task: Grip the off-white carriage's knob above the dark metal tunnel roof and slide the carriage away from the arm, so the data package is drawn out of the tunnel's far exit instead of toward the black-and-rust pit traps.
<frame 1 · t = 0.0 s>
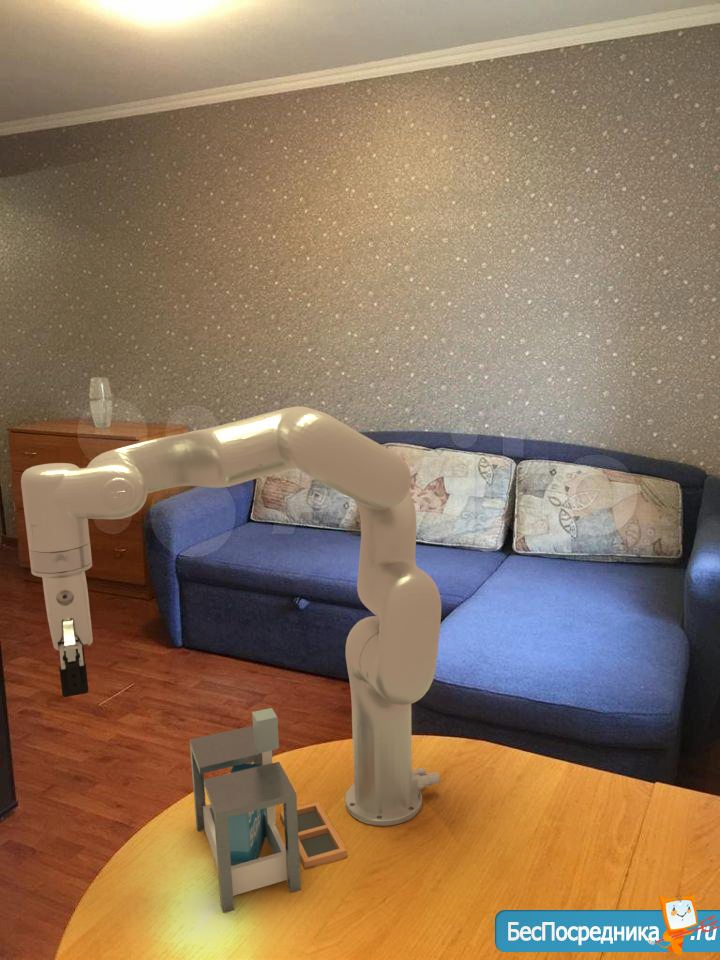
hand: (74, 678, 106), 31 cm above the table, fingers open, 9 cm apart
tunnel: (245, 855, 116), on the table
pit traps: (312, 837, 120), on the table
data package: (245, 855, 116), resting in carriage
carriage: (244, 786, 114), point 11 cm above the table, slide at 0.0 cm, touching data package
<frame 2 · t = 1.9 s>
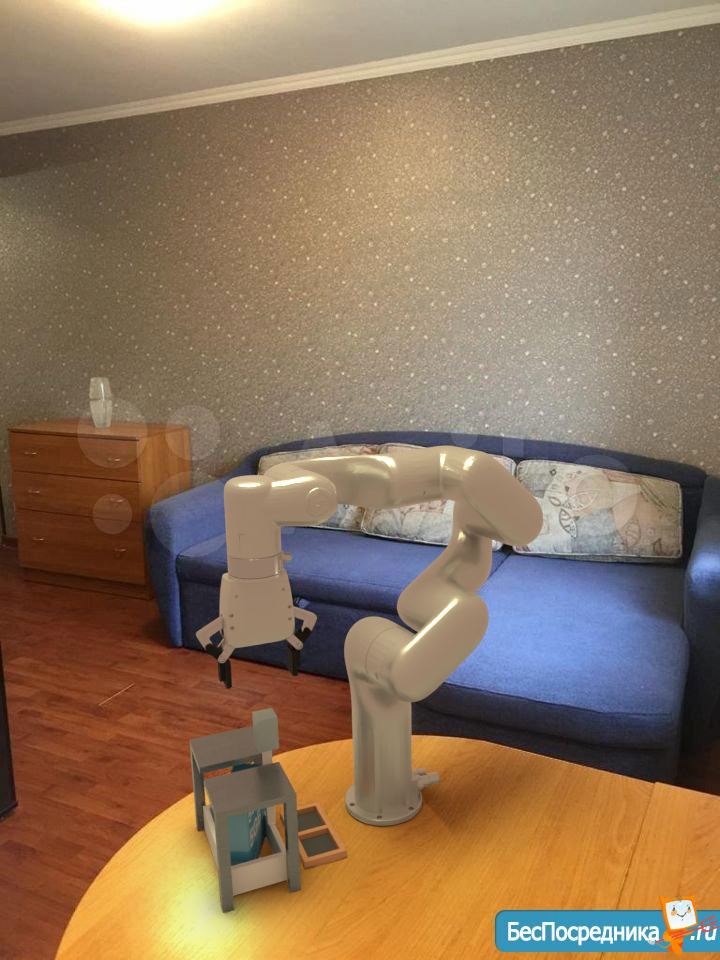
hand: (260, 678, 112), 28 cm above the table, fingers open, 9 cm apart
nothing on the table moved.
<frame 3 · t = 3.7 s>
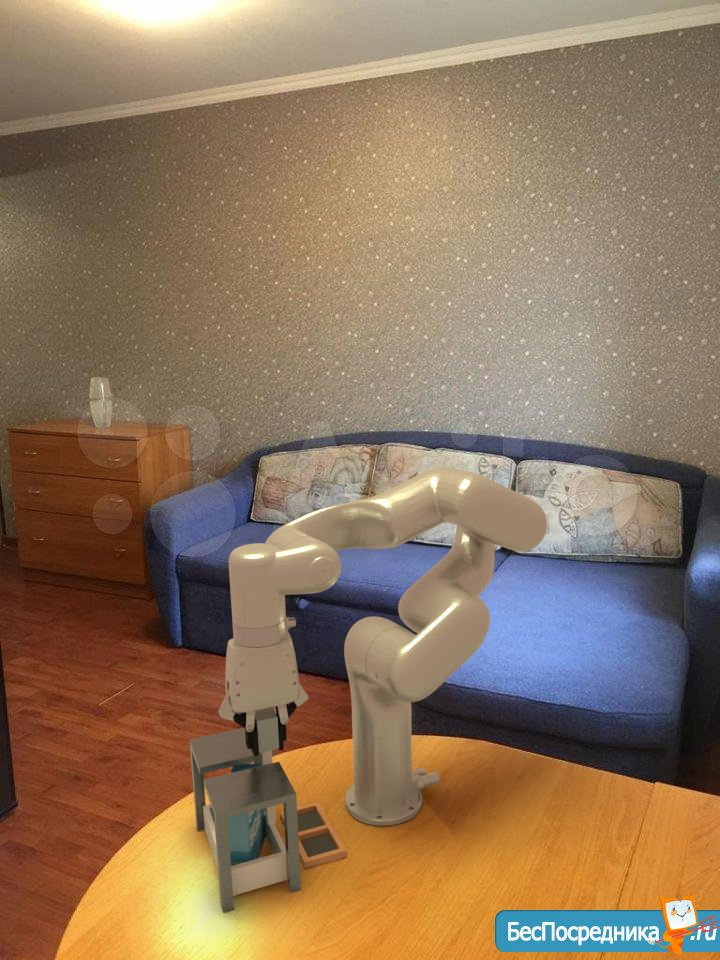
hand: (266, 747, 114), 17 cm above the table, fingers closed on carriage, 3 cm apart
carriage: (244, 786, 114), point 11 cm above the table, slide at 0.0 cm, touching data package, gripper
everything else where it was.
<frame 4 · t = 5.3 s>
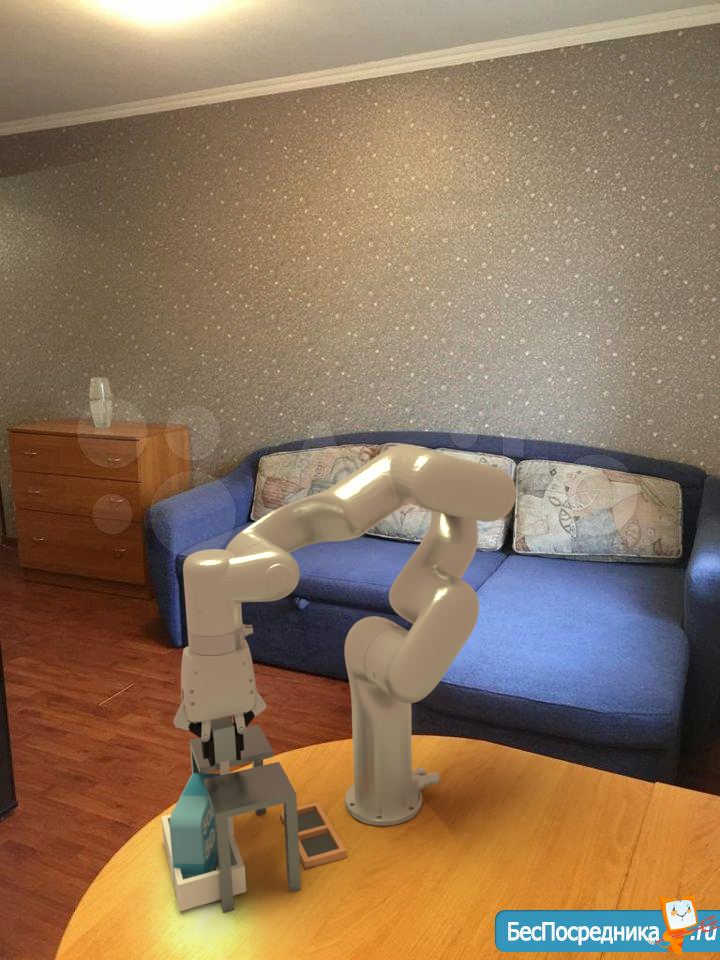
hand: (223, 757, 112), 17 cm above the table, fingers closed on carriage, 3 cm apart
data package: (203, 867, 114), resting in carriage
carriage: (201, 797, 112), point 11 cm above the table, slide at 6.3 cm, touching data package, gripper
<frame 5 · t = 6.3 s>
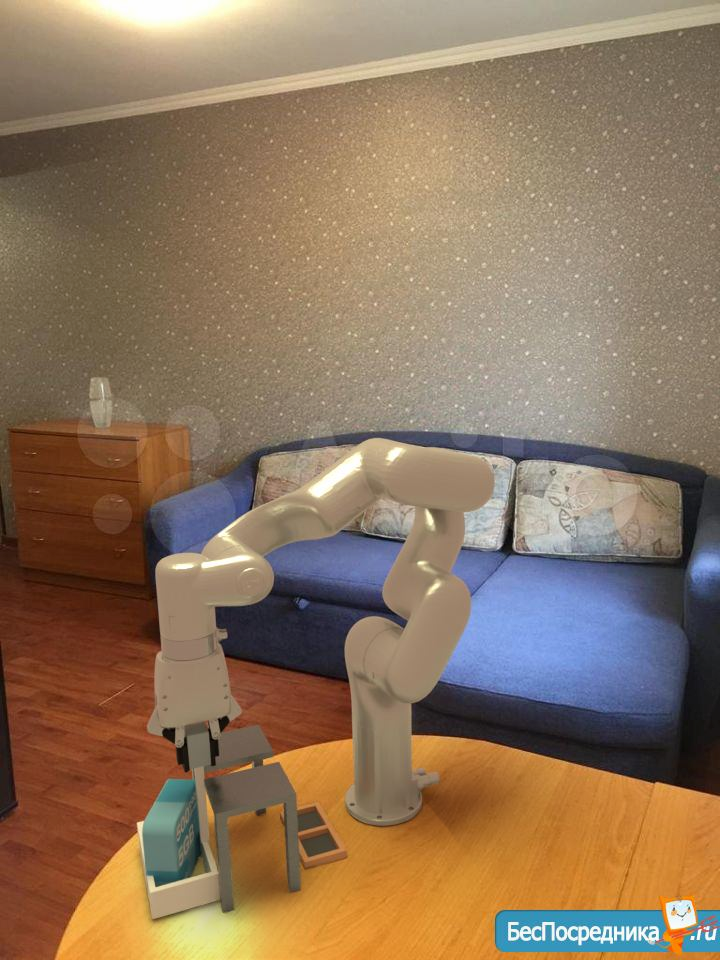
hand: (198, 763, 111), 17 cm above the table, fingers closed on carriage, 3 cm apart
data package: (177, 874, 113), resting in carriage
carriage: (175, 803, 111), point 11 cm above the table, slide at 10.0 cm, touching data package, gripper
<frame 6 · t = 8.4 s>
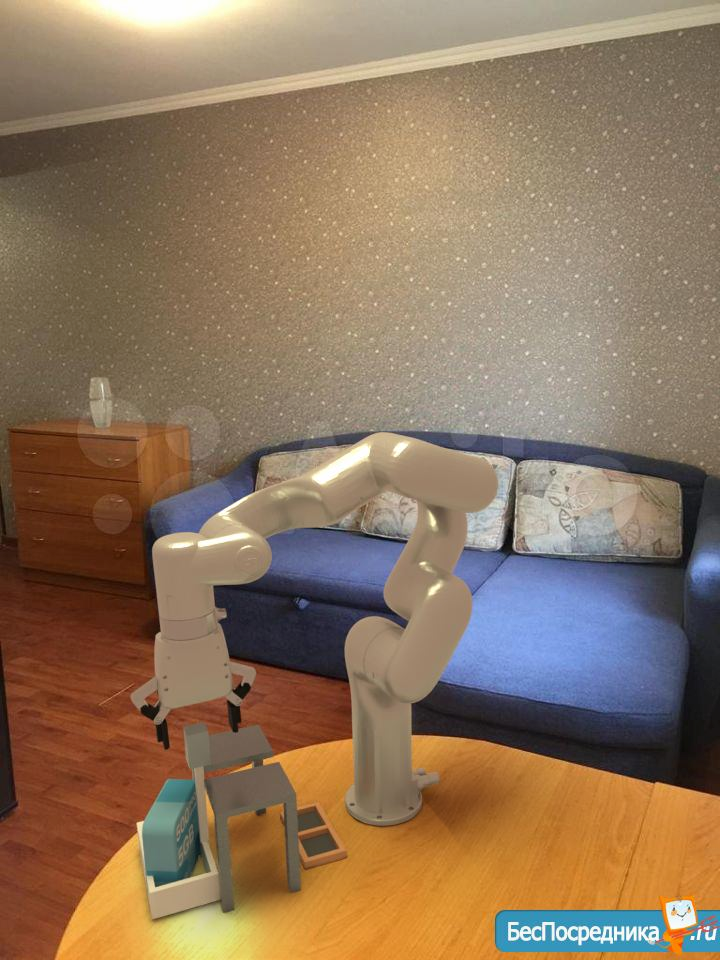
hand: (200, 736, 110), 21 cm above the table, fingers open, 9 cm apart
carriage: (175, 803, 111), point 11 cm above the table, slide at 10.0 cm, touching data package
everything else where it was.
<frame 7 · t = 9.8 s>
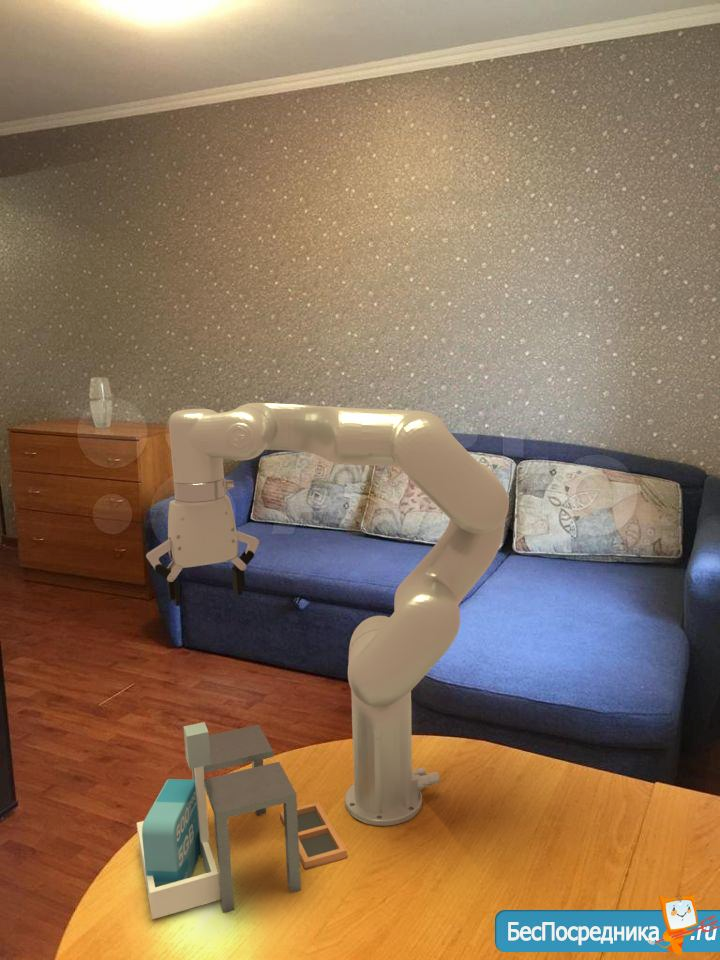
hand: (207, 597, 122), 36 cm above the table, fingers open, 9 cm apart
nothing on the table moved.
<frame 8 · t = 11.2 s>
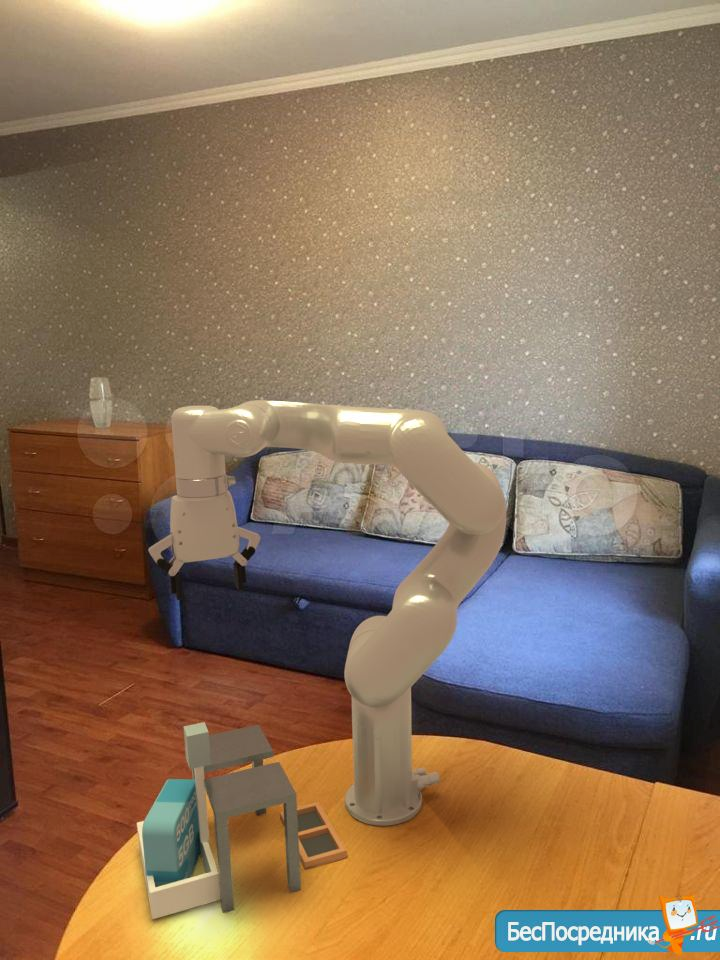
hand: (209, 592, 123), 36 cm above the table, fingers open, 9 cm apart
nothing on the table moved.
at the end: carriage slide at 10.0 cm; data package inside the target area (0.2 cm from its centre), resting in carriage; data package tilted 0° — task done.
